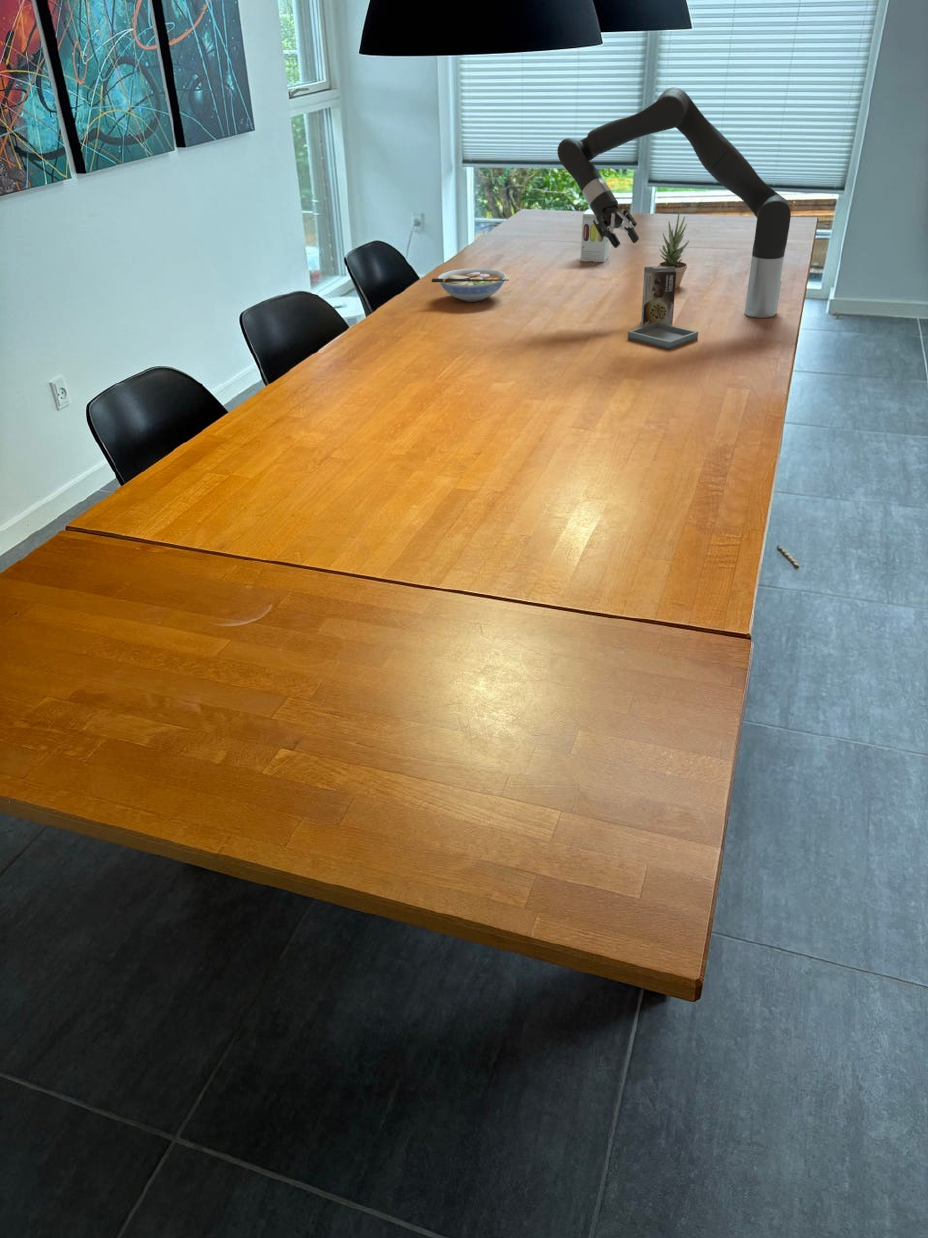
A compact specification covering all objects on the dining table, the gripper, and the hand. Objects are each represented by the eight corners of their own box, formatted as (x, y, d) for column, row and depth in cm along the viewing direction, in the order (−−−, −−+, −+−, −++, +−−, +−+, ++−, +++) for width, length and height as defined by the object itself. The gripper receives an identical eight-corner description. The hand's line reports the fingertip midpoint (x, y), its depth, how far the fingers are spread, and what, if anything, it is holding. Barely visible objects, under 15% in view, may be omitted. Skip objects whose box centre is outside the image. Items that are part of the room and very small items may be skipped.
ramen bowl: (511, 289, 322) (511, 265, 318) (507, 308, 303) (507, 282, 299) (439, 290, 325) (438, 265, 320) (431, 308, 306) (430, 282, 301)
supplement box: (579, 261, 354) (581, 213, 344) (584, 255, 361) (586, 208, 352) (605, 262, 351) (607, 214, 342) (609, 256, 359) (611, 209, 349)
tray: (656, 329, 279) (656, 321, 278) (697, 339, 270) (698, 331, 269) (627, 339, 272) (628, 331, 271) (669, 350, 263) (669, 342, 262)
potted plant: (687, 289, 316) (695, 210, 302) (659, 290, 316) (665, 211, 302) (682, 281, 324) (689, 204, 310) (654, 282, 324) (660, 205, 311)
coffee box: (670, 320, 286) (675, 265, 277) (672, 326, 281) (677, 270, 272) (640, 320, 287) (644, 265, 278) (641, 326, 282) (645, 271, 273)
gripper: (591, 192, 275) (619, 239, 274) (622, 186, 282) (650, 231, 281) (577, 210, 281) (604, 255, 280) (608, 203, 289) (635, 247, 288)
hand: (627, 243), depth 281 cm, fingers open, 8 cm apart
